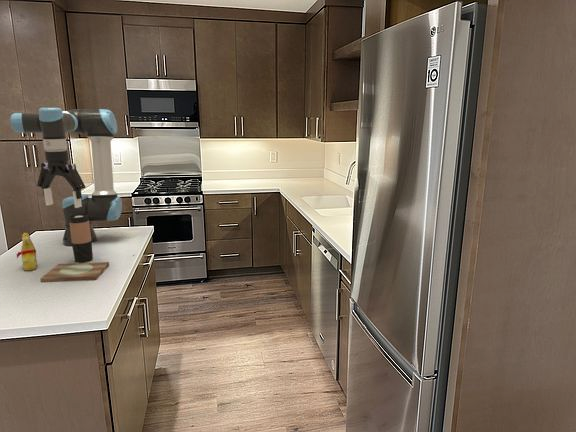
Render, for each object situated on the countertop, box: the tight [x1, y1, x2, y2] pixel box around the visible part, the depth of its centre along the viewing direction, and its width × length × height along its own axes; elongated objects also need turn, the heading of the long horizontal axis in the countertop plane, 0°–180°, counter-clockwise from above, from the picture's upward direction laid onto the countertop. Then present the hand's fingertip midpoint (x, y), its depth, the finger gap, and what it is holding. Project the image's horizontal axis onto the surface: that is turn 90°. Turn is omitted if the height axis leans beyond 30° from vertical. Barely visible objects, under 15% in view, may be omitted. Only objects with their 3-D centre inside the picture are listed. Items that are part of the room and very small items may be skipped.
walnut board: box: [40, 261, 110, 283], centre depth 163 cm, size 16×20×2 cm
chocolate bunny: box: [16, 232, 38, 272], centre depth 168 cm, size 7×11×15 cm, turn 29°
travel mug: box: [69, 214, 94, 263], centre depth 176 cm, size 8×8×20 cm
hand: (63, 206), depth 157 cm, fingers open, 13 cm apart
